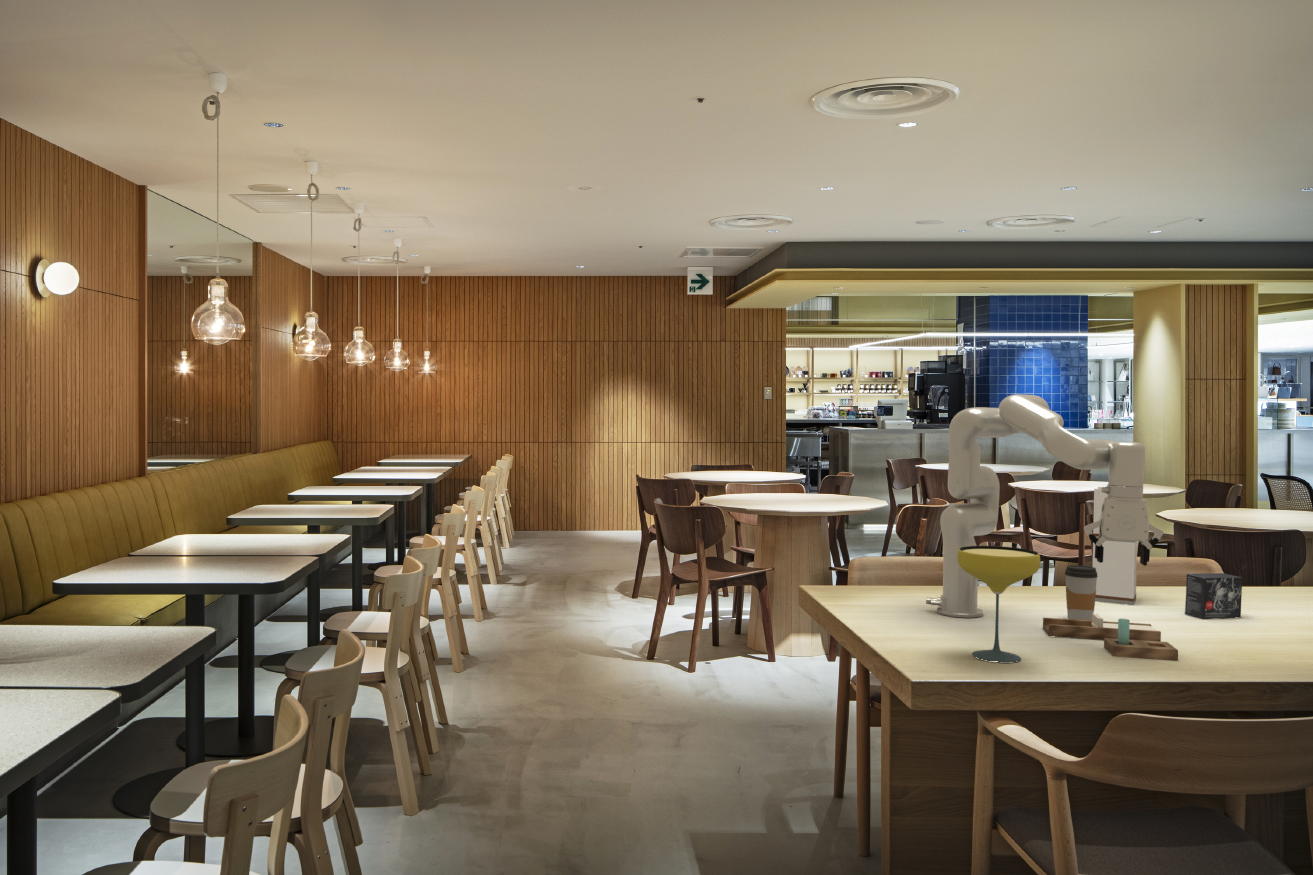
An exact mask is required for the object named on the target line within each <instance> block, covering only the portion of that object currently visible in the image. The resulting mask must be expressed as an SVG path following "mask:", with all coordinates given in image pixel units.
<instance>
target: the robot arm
mask: <svg viewBox="0 0 1313 875" xmlns="http://www.w3.org/2000/svg"><path fill="white" fill-rule="evenodd" d="M1064 423H1065V422H1064V419H1063V417H1062V415H1061V414H1060V413H1057V412H1055V411H1053V410H1051V409H1050V406H1049V404H1048V402H1047V401H1046V400H1045V399H1044V398H1043V397H1041V396H1038V395H1034V394H1020V393H1019V394H1018V393H1017V394H1009V395H1008V396H1006V397H1005V398H1003V399H1002V400H1001V401H1000V402H999V405H998V407H985V406H983V407H982V406H981V407H980V406H979V407H978V406H977V407H976V406H974V407H968V408H966V409H965V408H964V409H962V410H960V411H958V412H957V413H956V414H955V415H954V416H953V418H952V419H951V421H950V423H949V427H948V442H949V443H948V444H949V451H948V452H949V455H948V468H947V472H948V473H947V490H948V493H949V494H950V496H951V497H953V498H955V499H959V500H969V502H968V503H966V502H965V503H955V504H952V505H951V504H950V505H949V506H947V507H946V508H945V509H943V511H942V513H941V514H940V520H939V524H940V529H941V535H942V544H943V546H942V547H943V551H942V552H943V553H942V554H943V555H942V556H943V558H942V560H943V561H942V562H943V564H942V565H943V566H942V567H943V568H942V594H940V596H938V597H936V598H934V597H925V604H926V605H930V606H937V608H936V612H937V613H938V614H940V615H943V616H947V617H952V618H964V619H965V618H966V619H968V618H973V619H974V618H979V617H982V616H984V611H983V610H982V609H980V608H979V607H978V594H979V593H978V591H979V590H978V589H979V587H978V585H979V584H978V583H979V579H977V578H975V577H974V576H972V575H970V574H969V573H967V572H966V571H964V570H963V569H962V568H961V567H960V566H959V564H958V559H957V555H958V550H959V548H961V547H966V546H977V544H976V540H975V537H977V536H978V537H980V536H985V535H989V534H991V533H992V532H993V531H994V530H995V529H996V527H997V525H998V520H999V518H998V517H999V510H1000V509H999V508H1000V506H999V504H1000V490H1001V489H1000V487H1001V486H1000V480H999V478H998V475H997V474H996V472H995V471H994V470H993V469H992V468H991V467H989V466H986V465H981V448H980V444H979V442H978V440H977V439H979V438H988V439H989V438H995V439H996V438H1006V437H1009V436H1010V437H1011V436H1012V435H1016V434H1019V433H1024V434H1025V435H1027V436H1029V437H1031V439H1034V440H1035V441H1038V442H1039V443H1041V445H1042V447H1043V448H1044V450H1045V451H1046V452H1047V453H1048V454H1049V455H1051V456H1052V457H1053V458H1055V459H1057V460H1058V461H1061V462H1062V463H1064V464H1066V465H1068V466H1070V467H1072V468H1074V469H1076V470H1081V471H1084V470H1085V471H1088V470H1090V471H1091V470H1108V484H1107V485H1106V486H1105V487H1104V486H1101V487H1102V488H1101V492H1102V493H1106V494H1107V495H1108V497H1105V498H1104V502H1103V506H1102V511H1101V517H1100V520H1099V521H1096V522H1094V521H1093V522H1091V523H1089V524H1087V525H1084V527H1083V530H1084V531H1085V533H1086V535H1087V537H1088V539H1089V540H1090V541H1091V542H1092V544H1093V543H1094V544H1095V558H1097V561H1098V562H1099V563H1102V562H1103V553H1104V547H1103V546H1102V544H1103V543H1104V542H1105V541H1106V540H1107V539H1111V540H1124V541H1137V542H1140V544H1141V545H1142V547H1141V548H1140V556H1139V557H1140V558H1139V563H1140V564H1141V565H1143V566H1144V567H1145V566H1148V565H1147V564H1148V562H1150V555H1151V554H1150V553H1151V549H1153V547H1154V546H1155V545H1157V544H1158V543H1159V542H1160V540H1161V539H1162V537H1163V535H1164V531H1163V530H1161V529H1160V528H1157V527H1156V526H1154V525H1151V524H1150V523H1149V518H1150V517H1149V507H1148V502H1147V499H1144V480H1145V464H1146V462H1145V461H1146V446H1145V445H1144V444H1143V443H1142V442H1137V441H1136V442H1135V441H1115V440H1111V439H1102V438H1101V439H1100V438H1098V439H1097V438H1085V439H1084V438H1082V437H1080V436H1077V435H1075V434H1074V433H1071V432H1070V431H1069V430H1067V429H1065V428H1064ZM1098 527H1099V533H1100V535H1099V536H1098V537H1097V538H1096V537H1095V536H1094V535H1093V529H1095V528H1098ZM1150 531H1151V532H1152V533H1153V536H1152V537H1151V538H1150V539H1149V536H1150V535H1149V534H1150ZM1148 539H1149V540H1148Z"/></svg>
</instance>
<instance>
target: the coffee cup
mask: <svg viewBox="0 0 1313 875" xmlns="http://www.w3.org/2000/svg"><path fill="white" fill-rule="evenodd" d="M1064 571H1065V572H1064V575H1065V597H1066V612H1067V614H1066V615H1067V619H1075V620H1091V621H1092V613H1095V604H1096V601H1095V596H1096V582H1097V577H1098V576H1097V572H1096V568H1094V567H1093V566H1088V565H1078V564H1075V565H1074V564H1073V565H1072V564H1071V565H1066V569H1065V570H1064Z"/></svg>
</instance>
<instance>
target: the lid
mask: <svg viewBox="0 0 1313 875" xmlns="http://www.w3.org/2000/svg"><path fill="white" fill-rule="evenodd" d="M1103 621H1104V618H1103V617H1102V616H1101V615H1099V614H1098V613H1096V612H1094V613H1092V622H1091V626H1092V627H1103V628H1118V624H1112V623H1103ZM1129 629H1136V630H1152V631H1157V629H1155V628H1154V627H1153V626H1152V625H1151V626H1146V625H1129Z"/></svg>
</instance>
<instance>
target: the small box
mask: <svg viewBox="0 0 1313 875" xmlns="http://www.w3.org/2000/svg"><path fill="white" fill-rule="evenodd" d="M1185 587H1186V588H1185V606H1184V607H1185V608H1184V615H1187V616H1190V615H1191V616H1192V617H1193V618H1194V617H1195V618H1198V619H1201V620H1210V619H1209V618H1222V619H1236V618H1235V617H1242V616H1241V614H1242V595H1243V594H1242V593H1243V592H1242V591H1243V577H1242V576H1237V575H1233V574H1230V573H1229V574H1228V573H1224V572H1223V573H1222V572H1220V573H1219V572H1218V573H1217V572H1216V573H1214V572H1213V573H1211V572H1210V573H1186V585H1185ZM1191 616H1190V617H1191Z"/></svg>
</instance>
